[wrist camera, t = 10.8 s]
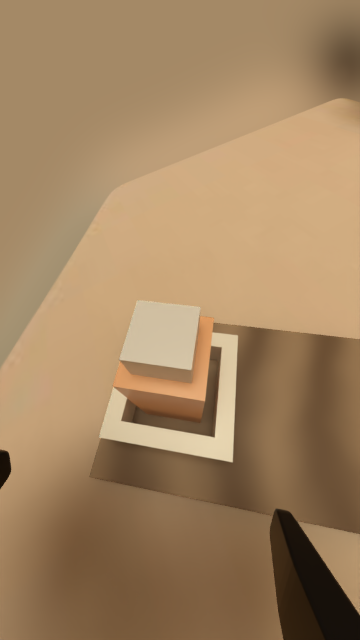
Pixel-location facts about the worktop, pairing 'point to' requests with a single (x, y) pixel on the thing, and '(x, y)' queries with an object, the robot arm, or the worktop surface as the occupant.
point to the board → (266, 433)
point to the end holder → (213, 447)
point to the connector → (166, 360)
